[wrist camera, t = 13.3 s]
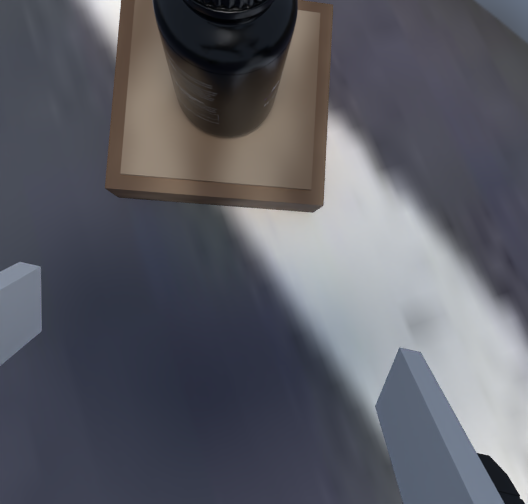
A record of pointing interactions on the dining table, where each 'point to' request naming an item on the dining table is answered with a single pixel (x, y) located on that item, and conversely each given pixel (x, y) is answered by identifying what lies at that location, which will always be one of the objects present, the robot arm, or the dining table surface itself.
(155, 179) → the pedestal
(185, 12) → the supplement bottle
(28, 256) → the dining table surface
